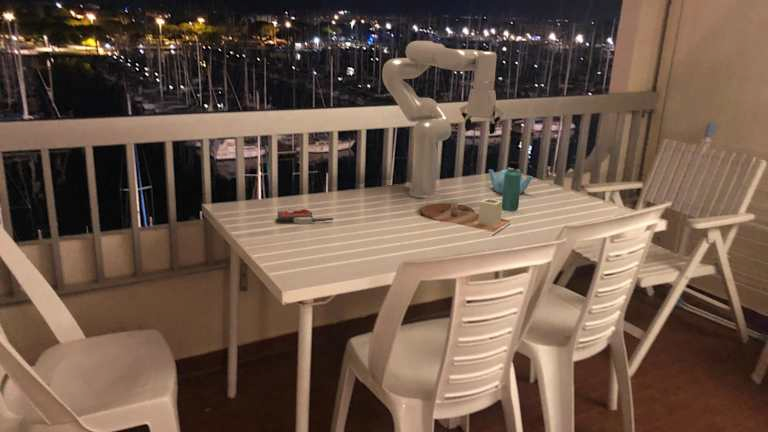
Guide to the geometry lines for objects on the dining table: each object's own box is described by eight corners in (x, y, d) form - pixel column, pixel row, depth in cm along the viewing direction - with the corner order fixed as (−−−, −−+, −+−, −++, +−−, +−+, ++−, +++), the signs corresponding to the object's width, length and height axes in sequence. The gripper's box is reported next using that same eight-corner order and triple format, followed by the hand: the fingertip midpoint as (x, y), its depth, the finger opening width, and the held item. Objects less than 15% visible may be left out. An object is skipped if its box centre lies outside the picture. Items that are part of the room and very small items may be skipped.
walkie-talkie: (276, 226, 209) (333, 223, 214) (276, 214, 207) (334, 211, 213) (274, 218, 217) (329, 216, 222) (274, 207, 215) (329, 204, 221)
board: (431, 221, 219) (432, 204, 217) (451, 211, 232) (452, 195, 230) (493, 235, 207) (494, 217, 205) (510, 224, 220) (512, 207, 218)
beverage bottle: (517, 215, 231) (523, 164, 225) (500, 214, 232) (505, 163, 226) (517, 210, 237) (523, 160, 231) (500, 209, 238) (505, 159, 232)
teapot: (485, 187, 270) (487, 163, 267) (517, 186, 273) (519, 163, 270) (498, 196, 256) (500, 172, 253) (531, 196, 259) (534, 171, 256)
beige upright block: (478, 223, 215) (480, 201, 212) (484, 219, 219) (486, 198, 217) (493, 226, 212) (496, 204, 209) (500, 222, 216) (502, 201, 214)
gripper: (457, 84, 224) (454, 130, 229) (501, 88, 215) (497, 136, 220) (466, 83, 230) (463, 128, 235) (509, 87, 221) (505, 133, 226)
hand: (479, 132), depth 228 cm, fingers open, 9 cm apart
